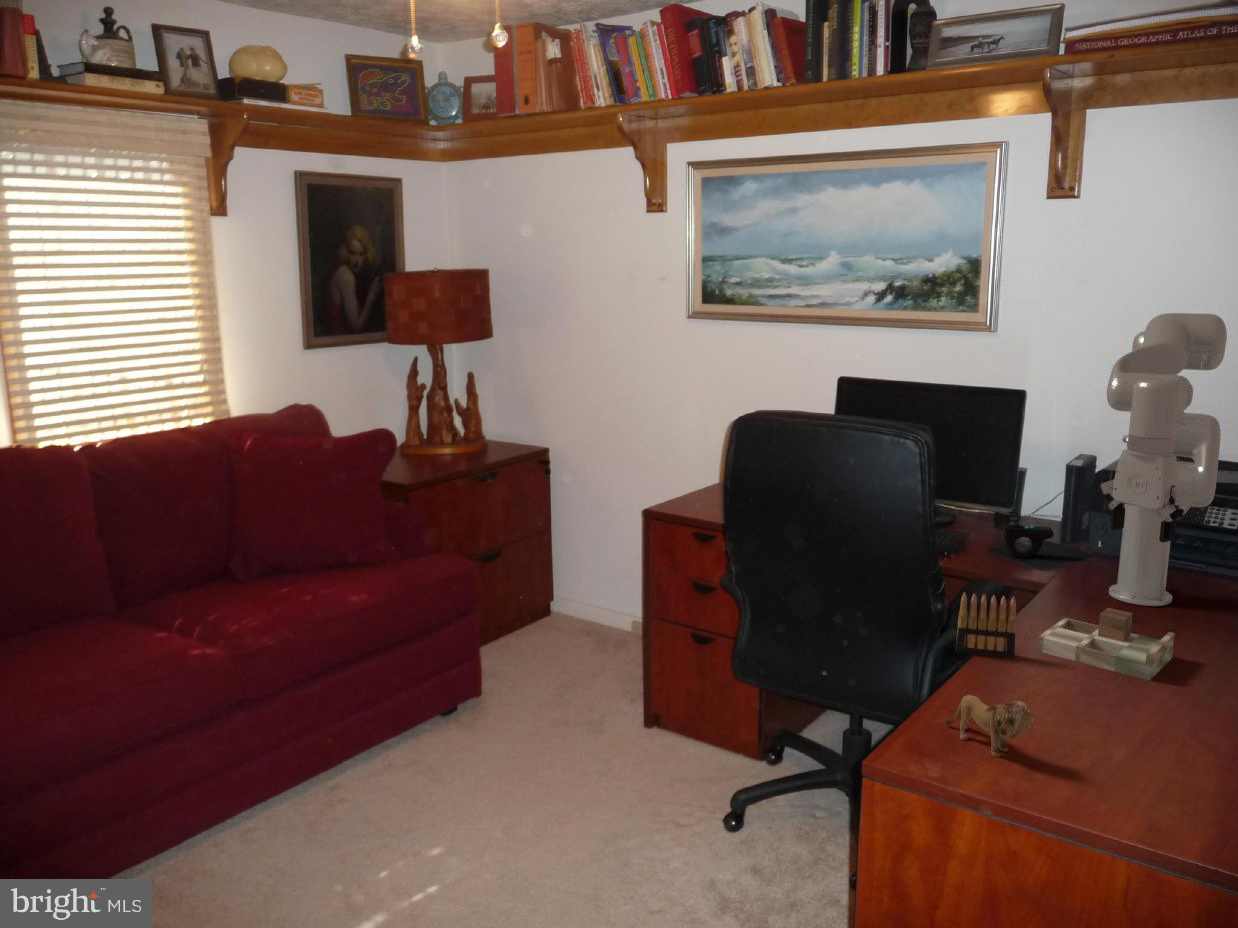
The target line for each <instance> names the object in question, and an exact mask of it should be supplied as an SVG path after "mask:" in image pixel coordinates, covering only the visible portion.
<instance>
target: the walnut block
mask: <svg viewBox="0 0 1238 928" xmlns="http://www.w3.org/2000/svg"><path fill="white" fill-rule="evenodd" d="M1133 614H1134V613H1133V612H1128V611H1125V610H1119V609H1114V608H1111V607H1107V608H1105V609H1104V610H1103V611H1102V612H1100V614H1099V624H1098V626H1099V631H1098V636H1101V637H1105V638H1109V639H1113V640H1118V641H1122V642H1123V641H1124V640H1126V639H1127V638H1128V637H1129V636H1130V634H1131V632H1132V623H1133Z"/></svg>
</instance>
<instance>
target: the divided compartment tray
mask: <svg viewBox="0 0 1238 928" xmlns="http://www.w3.org/2000/svg"><path fill="white" fill-rule="evenodd" d="M1098 631H1099V624H1094V623H1088V622H1085V621H1080V620H1075V619H1073V618H1072V619H1071V618H1067V617H1063V618H1062V619H1060V620H1059V621H1057V623H1055V624H1054V625H1052V626H1051V627H1050V628H1048V629H1047V630H1045V631H1044V632H1043V633H1041V634H1040V635H1038V639H1037V648H1036V649H1037V650H1036V651H1037V652H1039V653H1044V654H1046V653H1047V654H1046V655H1050V656H1055V657H1058V658H1061V659H1066V660H1070V661H1073V662H1077V663H1081V664H1085V665H1088V666H1092V667H1097V668H1100V669H1104V670H1106V671H1107V670H1108V671H1111V672H1116V673H1119V674H1123V675H1126V676H1131V677H1135V678H1138V679H1142V680H1146V681H1148V682H1149V681H1151V680H1152V679H1153V678H1154V677H1155V676H1156V675H1157V674H1158V673H1159V672H1160V671H1161V670H1162V669H1163V668H1164V667H1165V666H1166V665H1167V664H1168V663H1169V662H1170V661H1171V660H1172V659H1173V654H1174V653H1173V652H1174V644H1175V637H1176V636H1175V635H1176V633H1175V632H1171V631H1169V632H1167V633H1166V634H1165V635H1164V636H1163V637H1162V638H1161V639H1157V638H1153V637H1148V636H1146V635H1145V636H1144V635H1140V634H1135V633H1131V634H1130V636H1129V637H1128V638H1127V639H1126V640H1124V641H1123V642H1122V641H1118V640H1113V639H1109V638H1105V637H1101V636H1098Z"/></svg>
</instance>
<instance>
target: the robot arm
mask: <svg viewBox="0 0 1238 928" xmlns="http://www.w3.org/2000/svg"><path fill="white" fill-rule="evenodd" d="M1227 335H1228V332H1227V326H1226V324H1225V321H1224V320H1223V319H1222V318H1221V317H1220V316H1219V315H1216V314H1214V313H1188V312H1187V313H1185V312H1183V313H1182V312H1172V313H1171V312H1170V313H1169V312H1168V313H1162V314H1161V313H1160V314H1159V315H1156V316H1154V317H1153V318H1152V319H1151V320H1150V321H1148V323H1147V325H1146V327H1145V330H1143V331H1141V332H1139V333H1137V334H1136V336H1134V338H1133V341H1132V348H1131V349H1132V351H1130V352H1128V353H1126V354H1125V355H1122V356H1121V357H1120V358H1119V359H1117V360H1116V361H1115V364H1114V365H1112V368H1111V372H1110V376H1109V379H1108V383H1107V388H1106V400H1107V404H1108V405H1109V407H1110V408H1112V410H1115V411H1118V412H1127V413H1128V412H1129V413H1130V418H1129V427H1128V428H1129V429H1128V433H1127V435H1123V437H1122V439H1121V440H1122V442H1123V443H1126V449H1123V450H1122V451H1121V454H1120V456H1119V460H1118V463H1117V466H1116V469H1115V474H1114V475H1115V476H1114V479H1111V480H1109V481H1105V482H1102V483H1101V484H1100V488H1101V490H1102V493H1103V498H1104V499H1105V501H1106V503H1107V504H1108V508H1109V509H1110V520H1109V523H1110V530H1112V531H1116V530H1121V529H1122V533H1121V534H1122V535H1121V543H1120V552H1119V553H1120V554H1119V555H1120V556H1119V562H1118V563H1119V565H1118V573H1117V583H1116V584H1112V585H1111V586H1110V587H1109V588H1108V593H1109V595H1110V596H1111V597H1112V598H1114V599H1115V600H1118V601H1121V602H1125V603H1129V604H1133V605H1138V606H1144V607H1145V606H1146V607H1147V606H1148V607H1162V606H1167V605H1169V604H1171V603H1172V601H1173V594H1171V593H1170V592H1169V591H1167V590H1166V584H1167V578H1168V577H1167V576H1168V568H1169V558H1170V550H1171V542H1172V541H1173V540H1174V537H1175V536H1176V535H1175V534H1176V527H1177V526H1176V525H1177V521H1179V520H1180V519H1181V518H1182V517H1183V516H1185V515H1187V513H1188V511H1189V510H1190V509H1191V508H1193V507H1194V508H1205V507H1207V506H1210V504H1211V503H1212V502H1213V500H1214V498H1215V493H1216V488H1217V479H1218V478H1217V476H1218V470H1219V469H1218V468H1219V456H1220V446H1221V436H1222V435H1221V426H1220V422H1219V420H1218V419H1217V418H1216V417H1215V416H1213V415H1210V414H1206V413H1205V414H1204V413H1193V412H1185V411H1186V409H1187V408H1188V407H1190V405H1191V404H1192V401H1193V397H1194V396H1193V395H1194V387H1193V384H1192V383H1191V382H1190V380H1189V379H1188V378H1187V377H1185V376H1182V375H1178V374H1180V373H1181V372H1183V370H1187V371H1188V370H1189V371H1190V370H1191V371H1192V370H1195V371H1213V370H1216V369H1217V368H1218V367H1219V366H1220V365H1221V364H1222V362H1223V359H1224V357H1225V351H1226V348H1227V347H1226V345H1227V339H1228V336H1227ZM1177 457H1186V458H1187V457H1188V458H1190V459H1192V460H1193V461H1194V462H1191V461H1179V460H1178V461H1177ZM1175 506H1178V508H1177V509H1176V507H1175Z"/></svg>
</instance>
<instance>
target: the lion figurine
mask: <svg viewBox="0 0 1238 928" xmlns="http://www.w3.org/2000/svg"><path fill="white" fill-rule="evenodd" d="M1028 707H1029V706H1027V704H1026V702H1022V701H1021V700H1019V701H1016V700H1013V701H1010V702H1008V703H1003V704H995V705H993V706H991V707H990V706H989V705H987V704H985V703H984V702H983V701H982V699H980V698H979V697H978V696H975V695H970V694H967V695H964V696H963V697H962V698H961V701H960V702H959V705H958V708H957V711H956V714H955V715H954V716H953V717H952V718H950V719H948V720H945V721H944V724H946V725H952V724H953V723H954V722H955V721H956V720H957V718H958V717H959V716H960V714H961V719H960V723H959V732H960V734H959V737H960V740H962V741H967V740H968V739H969V736H968V735H967V734H966V730H967V729H968V730H969V724H968V722H969V720H971V719H973V720H974V722H975V723H976V724H977V725H978V727H980V728H981V729H982V730H985V731H988V732H989V733H990V740H991V741H990V746H991V747H990V751H991V756H992V757H994V758H999V757H1000V756H1001V753H1000V750H1001V751H1003V752H1008V751H1009V747H1008V746H1007V745H1005V744H1006V741H1007V740H1008V741H1010V740H1013V739H1015V738H1016V737H1017V736H1021V735H1024V734H1026V733H1027V732H1028V731H1029V730H1030V727H1031V723H1033V722H1034V719H1035V715H1034V714H1033V713H1032V712H1031V710H1030V709H1029V708H1028Z"/></svg>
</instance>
